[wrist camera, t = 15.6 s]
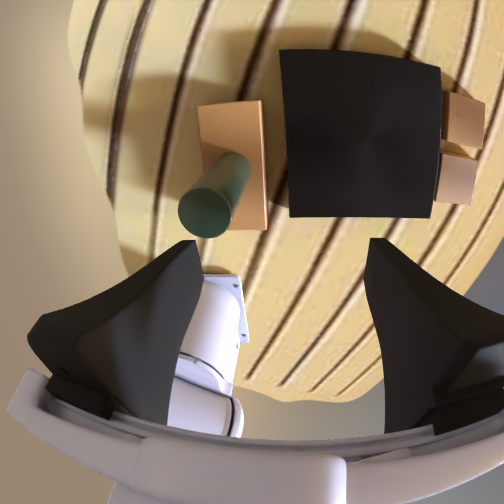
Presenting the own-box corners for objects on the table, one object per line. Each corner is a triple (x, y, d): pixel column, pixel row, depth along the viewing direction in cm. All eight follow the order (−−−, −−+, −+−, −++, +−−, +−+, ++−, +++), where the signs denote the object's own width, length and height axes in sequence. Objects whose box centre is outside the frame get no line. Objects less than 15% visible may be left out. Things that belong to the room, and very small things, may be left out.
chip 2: (463, 199, 18) (470, 205, 17) (429, 196, 19) (435, 202, 18) (470, 156, 16) (478, 160, 15) (435, 149, 16) (442, 153, 15)
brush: (268, 215, 21) (256, 297, 14) (219, 216, 22) (181, 293, 14) (262, 99, 17) (242, 101, 9) (206, 104, 17) (143, 116, 9)
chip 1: (474, 146, 15) (482, 149, 14) (439, 138, 16) (446, 141, 15) (477, 101, 13) (485, 103, 12) (441, 90, 14) (449, 90, 13)
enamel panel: (422, 211, 19) (430, 218, 18) (289, 209, 21) (289, 217, 20) (431, 68, 13) (440, 67, 12) (279, 53, 15) (278, 49, 13)
